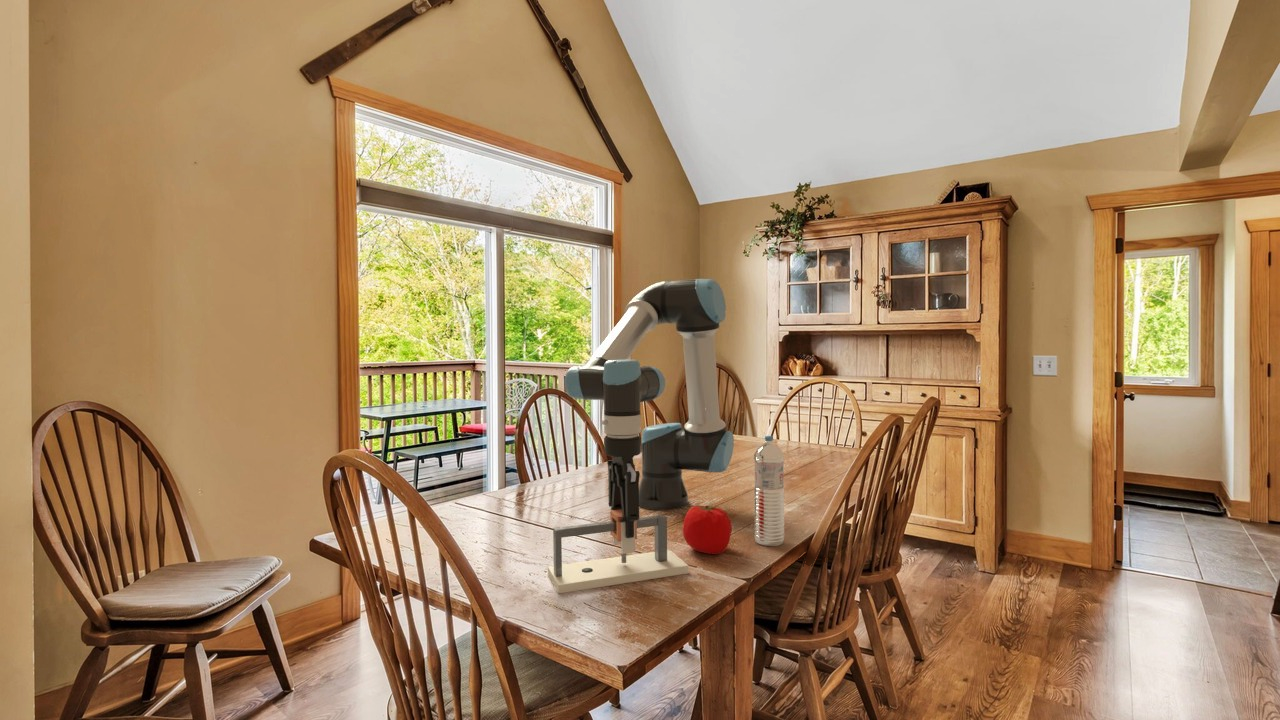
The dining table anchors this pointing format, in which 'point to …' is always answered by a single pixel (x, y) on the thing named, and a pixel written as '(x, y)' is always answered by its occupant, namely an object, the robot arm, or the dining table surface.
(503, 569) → the dining table surface
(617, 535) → the slider sleeve
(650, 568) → the hole board
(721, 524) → the tomato
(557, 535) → the grey slider rail frame
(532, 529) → the dining table surface
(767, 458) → the water bottle
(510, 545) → the dining table surface
